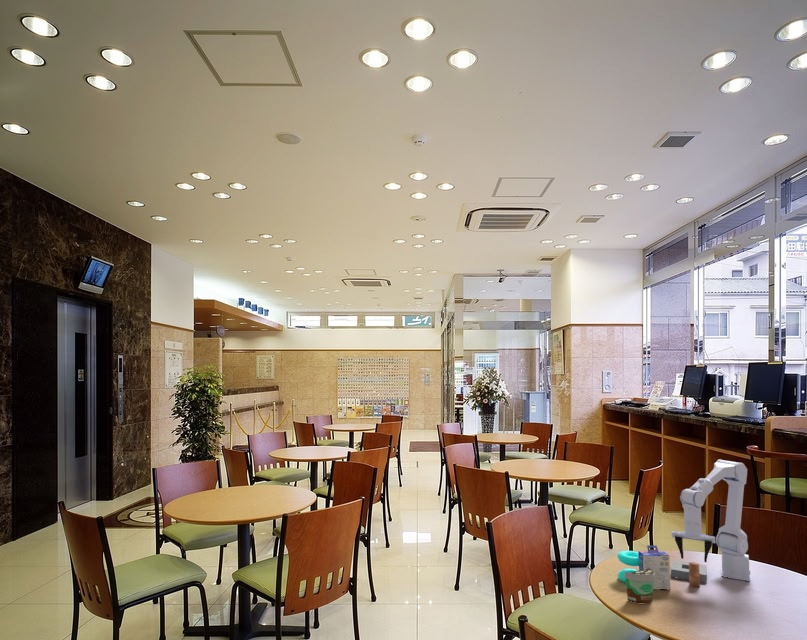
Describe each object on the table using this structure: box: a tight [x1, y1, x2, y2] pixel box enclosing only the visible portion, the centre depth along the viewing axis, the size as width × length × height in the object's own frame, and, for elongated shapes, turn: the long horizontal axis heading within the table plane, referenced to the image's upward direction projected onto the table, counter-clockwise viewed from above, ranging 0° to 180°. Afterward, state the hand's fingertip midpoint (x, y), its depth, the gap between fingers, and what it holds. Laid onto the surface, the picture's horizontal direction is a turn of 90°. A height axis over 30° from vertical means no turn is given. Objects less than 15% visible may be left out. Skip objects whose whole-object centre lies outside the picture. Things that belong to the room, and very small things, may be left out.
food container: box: [624, 567, 656, 604], centre depth 196 cm, size 12×6×10 cm, turn 117°
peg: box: [688, 561, 701, 588], centre depth 211 cm, size 4×4×8 cm
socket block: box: [670, 559, 708, 584], centre depth 221 cm, size 12×12×3 cm
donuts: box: [617, 550, 640, 584], centre depth 215 cm, size 10×10×10 cm
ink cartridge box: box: [637, 544, 671, 591], centre depth 209 cm, size 10×6×14 cm, turn 88°
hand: (693, 559), depth 211 cm, fingers open, 7 cm apart
